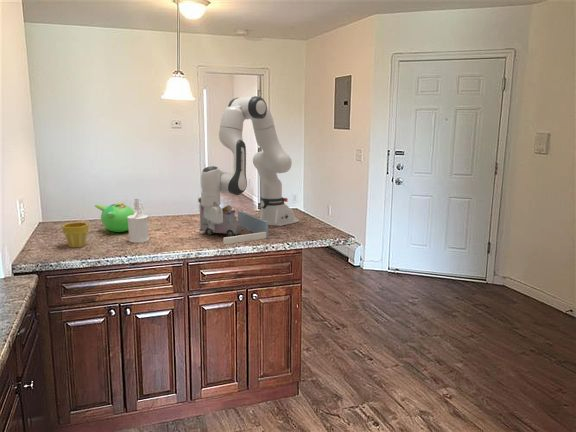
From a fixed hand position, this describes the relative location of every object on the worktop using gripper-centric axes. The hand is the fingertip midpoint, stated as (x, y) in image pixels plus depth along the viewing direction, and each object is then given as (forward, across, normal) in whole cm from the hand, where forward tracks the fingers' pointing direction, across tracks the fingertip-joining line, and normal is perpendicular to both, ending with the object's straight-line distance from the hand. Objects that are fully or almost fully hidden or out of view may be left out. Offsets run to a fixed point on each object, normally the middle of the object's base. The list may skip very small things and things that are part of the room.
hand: (211, 229), depth 230 cm
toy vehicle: (+4, +2, -6) cm, 8 cm away
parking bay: (+4, 0, -11) cm, 11 cm away
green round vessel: (+4, +33, +36) cm, 49 cm away
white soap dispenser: (+4, +11, +32) cm, 34 cm away
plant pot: (+4, +16, +58) cm, 61 cm away
